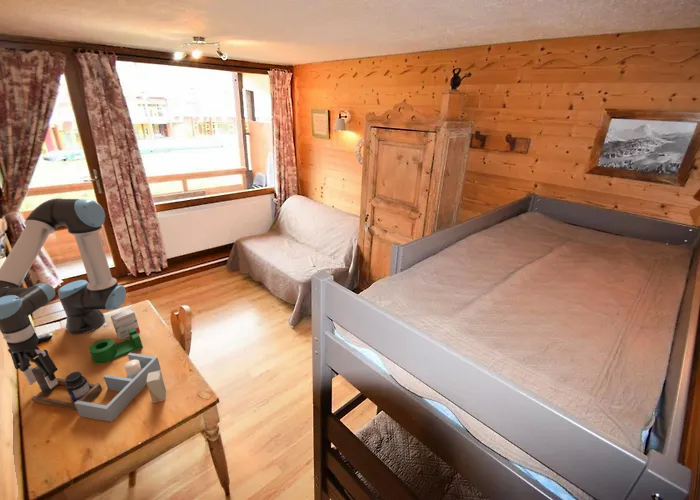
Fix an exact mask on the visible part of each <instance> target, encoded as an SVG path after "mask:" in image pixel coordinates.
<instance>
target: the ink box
mask: <svg viewBox="0 0 700 500" xmlns="http://www.w3.org/2000/svg"><path fill="white" fill-rule="evenodd" d="M110 319H111V322H112V325H113V328H114V330H115V333H116V337H117V338H118V339H119V340H121V341H123V340H125V339H126V338H128V337H129V338H130V335H129V332H128V330H131V329H134V328H135V330H136V332H137V333H139V332H141V330H140V327H139V323H138V319H137V315H136V312H135V311H134V310H133V309H131V308H129V309H126V310H124V311H122V312H121V311H120V312H118V313H115V314H113V315H111V316H110Z"/></svg>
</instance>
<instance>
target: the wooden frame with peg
mask: <svg viewBox="0 0 700 500" xmlns="http://www.w3.org/2000/svg"><path fill="white" fill-rule="evenodd" d="M32 372H33V374H34V376H35V378H36V380H37V381H36V382H37V384H38V386H39V388H40V390H41V391H40V392H38V393H37V394H36V395H34V396H32V397H31V400H32V401H35V402H34V403H37V402H39V403H38V404H43V405H48V406H54V407H59V408H64V409H65V408H66V409H70V410H77V408H76V406H75V404H74V403H73V402H72V401H71V402H70V401H65V400H59V399H54V398H49V397H48V398H47V397H45V396H46V395H48V394H49V395H50V393H52V392H53V389H54V388H56V387H57V386H58V385H63V386H66V383H67V382H66V380H65V378H59V377H56V379H57V381H58V384H57V385H55V386H54V387H53V388H52V389H51V388H49V386H48V384H47V382H46V380H45V378H44V375H45V374H44V373H43V372H42V371H41V369H40V368H39V367H38V366H37V365H36V366H35V367H33V369H32ZM88 384H89V386H90V390H89V391H88V392H87V393H86V394H85V395H84V396H83V397H81V398H80V399H79V400H78V401H84V402H89V403H90V401H91V400H93V399H94V398H95V396H96V395H98V394H99V393H100V392H101V391H102V390H103V387H102V385H101V383H99V382H97V383H96V384H95V383H89V382H88ZM77 411H78V410H77Z"/></svg>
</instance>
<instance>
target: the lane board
mask: <svg viewBox="0 0 700 500" xmlns="http://www.w3.org/2000/svg"><path fill="white" fill-rule="evenodd" d="M127 357H128V360H129V361H131V360H139V362H140V366H141V369H142V370H141V371H140V372H139V373H138V374H137V375H136V376H135V377H134V378H133V379H130V378H128V377H122V376H118V375H111V374H105V375H104V376H103V379H104V382H105V385H106V387H107V389H108V390H112V391H116V392H118V393H117V394H116V395H115V396H114V397H113V398H112V400H110V401H109V402H108V403H107V405H104V404H99V403H94V402H90V401H89V402H84V401H78V400H77V401H76V402H75V403H74V404H75V406H76V408H77V412H78V414H79V416H80V417H84V418H89V419H95V420H101V421H106V422H110V423H112V422H113V421H114V420H115V419H116V418H117V417H118V416H119V414H120V413H121V412H123V410H124V409H125V408H126V407H127V406H128V405H129V404H130V403H131V402H132V401H133V400H134V398H135V397H136V396H137V395H138V394H139V393H140V392H141V391H142V389H144V388H145V386H147V383H146V382H147V375H148V373H150V372H154V371H159V370H160V371H161V365H160V361H159V359H158V356H153V355H147V354H141V353H135V352H134V353H133V352H130V353H128V354H127Z"/></svg>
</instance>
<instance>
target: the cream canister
mask: <svg viewBox="0 0 700 500" xmlns="http://www.w3.org/2000/svg"><path fill="white" fill-rule="evenodd" d="M124 369H125V372H126V375H127V378H130V379H133V378H134V377H135V376H136V375H137V374H138V373H139V372H140V371H141V370H142V369H143V368H141V366H140V362H139V360H131V361H130V360H129V361H127V362H125V364H124Z"/></svg>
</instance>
